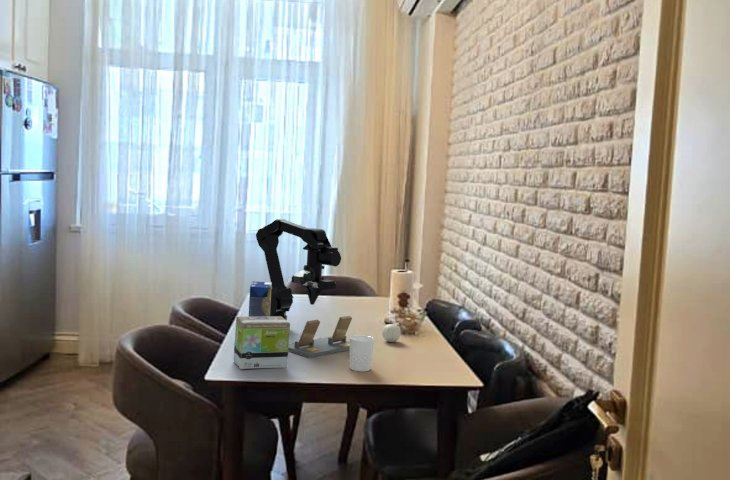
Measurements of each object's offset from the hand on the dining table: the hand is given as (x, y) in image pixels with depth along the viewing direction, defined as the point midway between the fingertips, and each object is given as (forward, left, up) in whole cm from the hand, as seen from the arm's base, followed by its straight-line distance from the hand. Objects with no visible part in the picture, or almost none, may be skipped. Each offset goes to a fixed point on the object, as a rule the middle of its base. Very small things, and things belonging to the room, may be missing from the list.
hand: (312, 304), depth 263 cm
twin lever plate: (+7, -16, -12) cm, 21 cm away
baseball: (+30, +2, -12) cm, 32 cm away
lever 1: (+2, -21, -10) cm, 23 cm away
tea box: (-8, -43, -12) cm, 45 cm away
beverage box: (-14, -23, -12) cm, 30 cm away
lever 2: (+12, -11, -10) cm, 19 cm away
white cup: (+23, -37, -12) cm, 45 cm away
